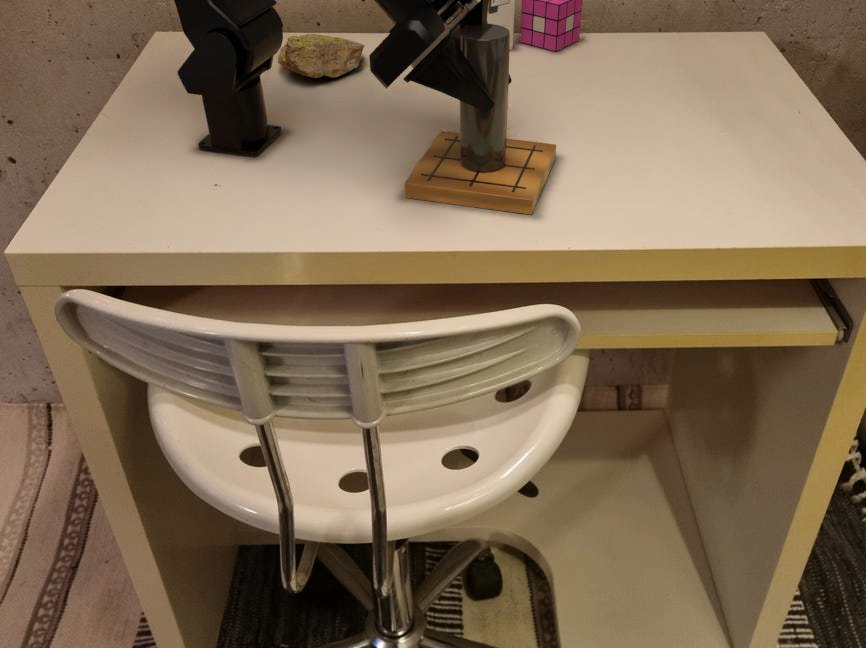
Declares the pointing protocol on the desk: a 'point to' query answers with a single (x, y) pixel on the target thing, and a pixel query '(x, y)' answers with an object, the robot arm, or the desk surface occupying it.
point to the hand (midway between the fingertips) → (499, 96)
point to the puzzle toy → (550, 23)
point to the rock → (320, 55)
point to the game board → (482, 176)
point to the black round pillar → (491, 63)
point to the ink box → (502, 15)
